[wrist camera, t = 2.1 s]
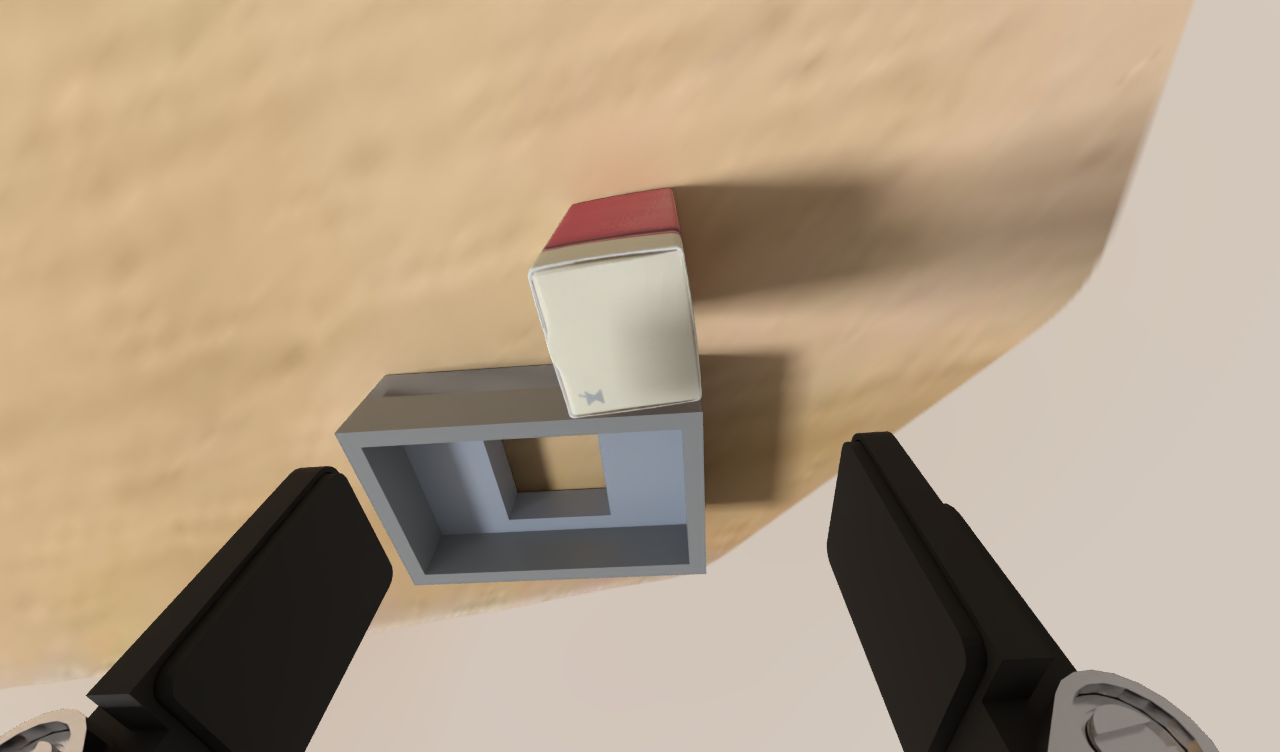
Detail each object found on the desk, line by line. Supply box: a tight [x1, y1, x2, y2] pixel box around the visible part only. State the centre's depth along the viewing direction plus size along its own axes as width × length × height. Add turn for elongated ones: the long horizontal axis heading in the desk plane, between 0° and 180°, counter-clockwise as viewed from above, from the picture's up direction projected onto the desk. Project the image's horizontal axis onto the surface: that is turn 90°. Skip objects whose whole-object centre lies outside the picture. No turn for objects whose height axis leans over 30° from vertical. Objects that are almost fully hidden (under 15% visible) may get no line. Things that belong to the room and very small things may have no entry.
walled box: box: [335, 364, 706, 585], centre depth 24 cm, size 15×10×4 cm, turn 95°
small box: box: [528, 188, 702, 418], centre depth 17 cm, size 5×4×8 cm
